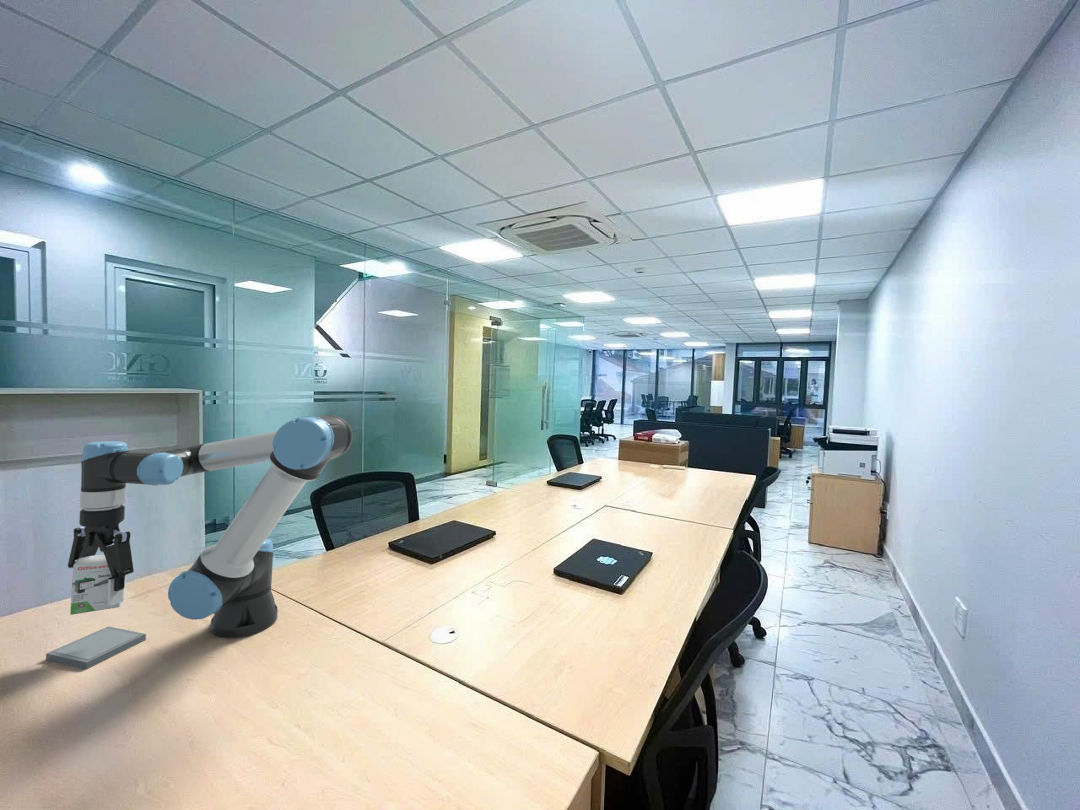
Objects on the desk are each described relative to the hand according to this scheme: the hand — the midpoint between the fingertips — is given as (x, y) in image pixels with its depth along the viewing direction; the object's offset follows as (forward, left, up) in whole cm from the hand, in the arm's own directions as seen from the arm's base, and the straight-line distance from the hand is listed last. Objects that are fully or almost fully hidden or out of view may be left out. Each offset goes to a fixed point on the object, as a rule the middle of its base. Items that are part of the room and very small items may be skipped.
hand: (99, 600), depth 102 cm
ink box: (0, 0, -2) cm, 2 cm away
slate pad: (0, 0, -12) cm, 12 cm away
